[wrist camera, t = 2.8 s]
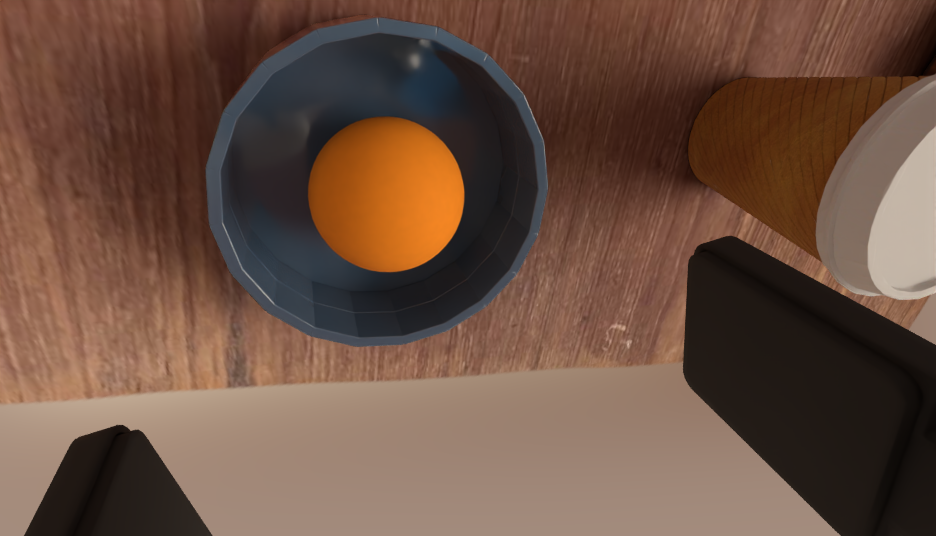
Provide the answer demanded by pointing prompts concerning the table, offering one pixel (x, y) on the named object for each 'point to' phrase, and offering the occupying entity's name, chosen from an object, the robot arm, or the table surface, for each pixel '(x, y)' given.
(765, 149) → the disposable coffee cup
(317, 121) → the fruit bowl
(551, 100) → the table surface
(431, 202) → the orange
